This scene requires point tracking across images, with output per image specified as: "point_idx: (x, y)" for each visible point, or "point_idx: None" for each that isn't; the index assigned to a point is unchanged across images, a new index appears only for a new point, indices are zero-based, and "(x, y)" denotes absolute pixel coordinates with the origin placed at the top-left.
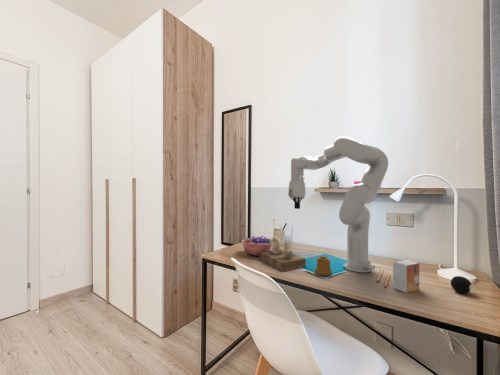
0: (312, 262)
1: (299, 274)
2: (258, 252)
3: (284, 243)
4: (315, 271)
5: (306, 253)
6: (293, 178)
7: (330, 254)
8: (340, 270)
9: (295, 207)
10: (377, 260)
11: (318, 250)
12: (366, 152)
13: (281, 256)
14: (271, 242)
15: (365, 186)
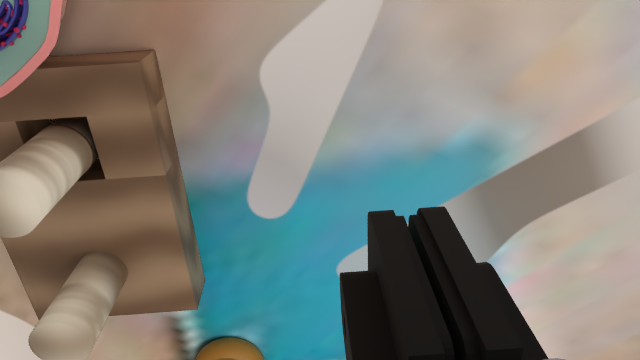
0: (286, 241)
1: (122, 335)
2: None
3: (32, 332)
4: (196, 356)
5: (386, 78)
6: None
7: (511, 166)
8: (326, 357)
9: (372, 259)
10: (606, 328)
11: (534, 48)
12: None
13: (74, 228)
14: (34, 42)
15: None
